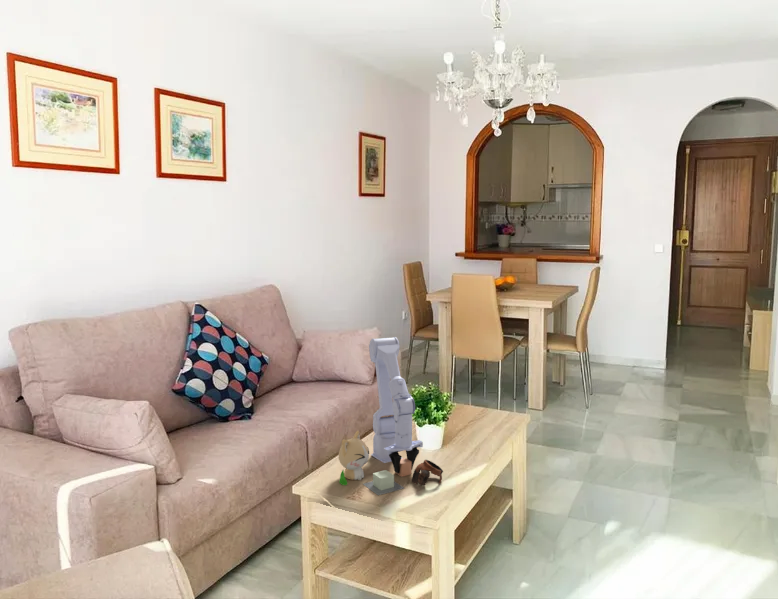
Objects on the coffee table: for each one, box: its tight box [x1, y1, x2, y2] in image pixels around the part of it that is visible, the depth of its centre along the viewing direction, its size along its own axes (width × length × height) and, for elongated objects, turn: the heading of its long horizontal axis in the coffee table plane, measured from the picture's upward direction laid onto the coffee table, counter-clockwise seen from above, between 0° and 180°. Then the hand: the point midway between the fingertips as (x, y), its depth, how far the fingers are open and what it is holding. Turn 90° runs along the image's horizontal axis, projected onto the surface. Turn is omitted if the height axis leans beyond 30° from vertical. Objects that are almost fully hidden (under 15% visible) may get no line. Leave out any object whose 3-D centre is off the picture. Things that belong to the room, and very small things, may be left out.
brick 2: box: [394, 457, 413, 478], centre depth 221 cm, size 4×4×5 cm
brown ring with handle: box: [411, 459, 444, 486], centre depth 214 cm, size 12×10×8 cm
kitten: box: [338, 430, 370, 486], centre depth 217 cm, size 15×10×15 cm
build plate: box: [362, 480, 405, 496], centre depth 211 cm, size 10×10×1 cm
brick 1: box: [372, 469, 395, 490], centre depth 211 cm, size 5×5×4 cm
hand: (403, 470), depth 221 cm, fingers open, 5 cm apart
